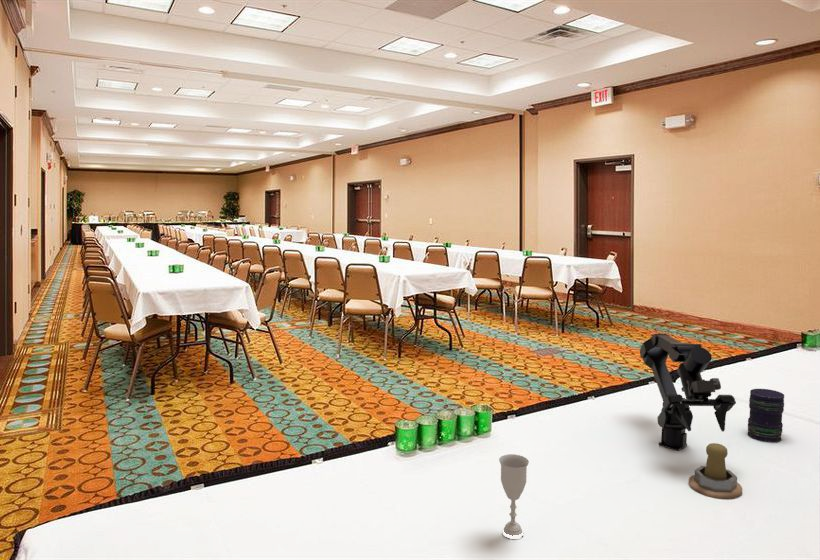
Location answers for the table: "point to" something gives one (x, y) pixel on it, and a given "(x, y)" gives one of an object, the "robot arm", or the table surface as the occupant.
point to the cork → (716, 461)
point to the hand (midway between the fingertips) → (706, 430)
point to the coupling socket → (715, 485)
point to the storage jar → (765, 415)
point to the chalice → (513, 485)
